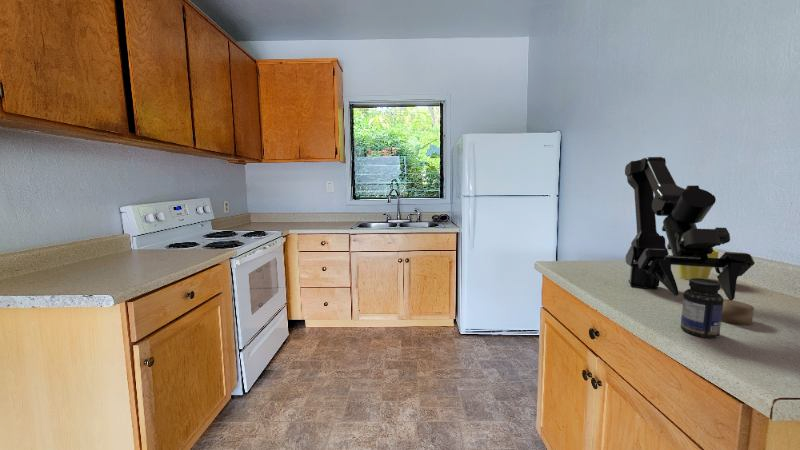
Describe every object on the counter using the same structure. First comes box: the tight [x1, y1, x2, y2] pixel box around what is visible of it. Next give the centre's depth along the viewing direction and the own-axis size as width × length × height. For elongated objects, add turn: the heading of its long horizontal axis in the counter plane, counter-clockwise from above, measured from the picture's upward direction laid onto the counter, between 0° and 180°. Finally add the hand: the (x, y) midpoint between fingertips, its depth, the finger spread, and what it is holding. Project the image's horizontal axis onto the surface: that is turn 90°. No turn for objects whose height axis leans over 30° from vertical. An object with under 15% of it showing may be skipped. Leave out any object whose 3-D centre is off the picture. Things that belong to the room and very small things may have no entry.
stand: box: [721, 298, 755, 326], centre depth 75 cm, size 7×7×4 cm
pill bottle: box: [680, 278, 724, 339], centre depth 69 cm, size 6×6×11 cm
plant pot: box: [677, 248, 719, 281], centre depth 106 cm, size 10×10×10 cm
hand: (703, 297), depth 68 cm, fingers open, 9 cm apart
